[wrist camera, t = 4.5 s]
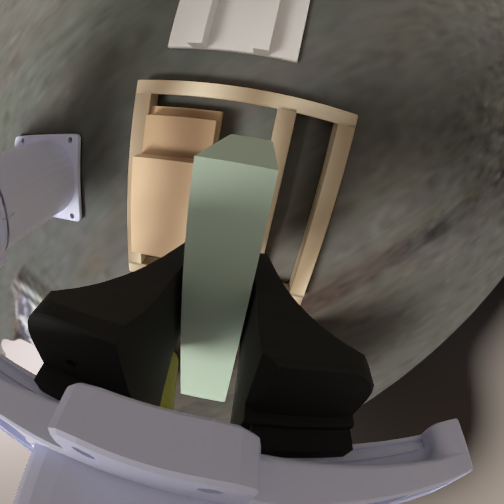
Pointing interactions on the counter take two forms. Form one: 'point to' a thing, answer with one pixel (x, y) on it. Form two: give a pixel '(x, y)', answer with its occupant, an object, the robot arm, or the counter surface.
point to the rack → (281, 141)
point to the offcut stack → (167, 175)
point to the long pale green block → (222, 256)
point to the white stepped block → (241, 26)
